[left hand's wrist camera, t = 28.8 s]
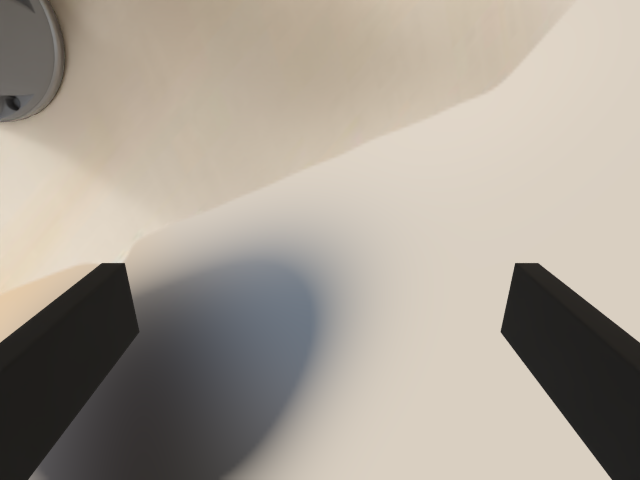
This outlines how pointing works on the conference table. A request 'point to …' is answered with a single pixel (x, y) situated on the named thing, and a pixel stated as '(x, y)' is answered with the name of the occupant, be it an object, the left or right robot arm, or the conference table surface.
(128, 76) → the conference table surface
